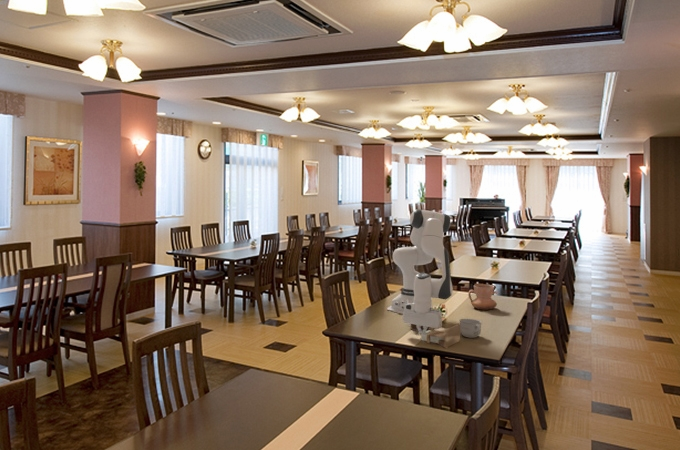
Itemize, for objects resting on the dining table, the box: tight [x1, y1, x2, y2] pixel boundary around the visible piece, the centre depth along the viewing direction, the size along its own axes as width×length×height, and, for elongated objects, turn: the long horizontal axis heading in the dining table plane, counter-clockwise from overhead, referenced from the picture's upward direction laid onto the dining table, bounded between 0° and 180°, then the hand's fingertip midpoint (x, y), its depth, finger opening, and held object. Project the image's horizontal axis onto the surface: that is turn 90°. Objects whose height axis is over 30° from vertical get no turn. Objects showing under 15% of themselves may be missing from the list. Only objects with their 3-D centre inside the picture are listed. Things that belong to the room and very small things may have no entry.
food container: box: [410, 324, 431, 332], centre depth 269 cm, size 12×6×10 cm, turn 71°
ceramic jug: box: [467, 284, 499, 311], centre depth 315 cm, size 18×14×14 cm
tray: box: [420, 329, 445, 344], centre depth 249 cm, size 14×8×3 cm, turn 53°
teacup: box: [459, 318, 483, 339], centre depth 255 cm, size 14×11×8 cm
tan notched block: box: [426, 323, 461, 348], centre depth 247 cm, size 14×14×8 cm
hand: (421, 334), depth 254 cm, fingers closed
